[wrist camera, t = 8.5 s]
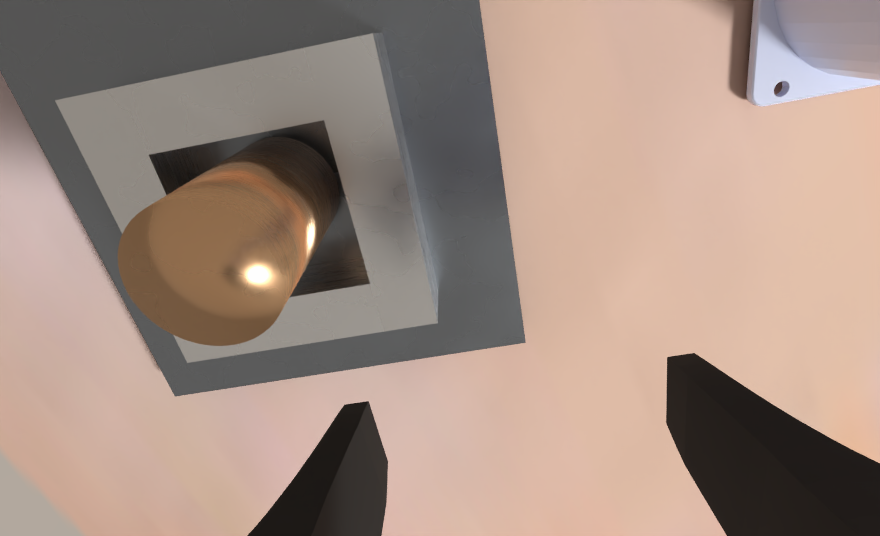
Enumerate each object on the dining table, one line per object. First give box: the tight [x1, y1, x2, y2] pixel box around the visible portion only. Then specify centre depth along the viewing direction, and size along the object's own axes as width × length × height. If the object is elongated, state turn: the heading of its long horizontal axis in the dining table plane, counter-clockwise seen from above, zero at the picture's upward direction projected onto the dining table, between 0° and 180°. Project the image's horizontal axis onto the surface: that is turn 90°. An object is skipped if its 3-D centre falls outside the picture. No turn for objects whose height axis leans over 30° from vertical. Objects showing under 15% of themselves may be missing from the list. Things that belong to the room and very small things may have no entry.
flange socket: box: [0, 0, 526, 396], centre depth 18 cm, size 16×16×4 cm
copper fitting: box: [118, 137, 340, 346], centre depth 15 cm, size 4×4×7 cm
